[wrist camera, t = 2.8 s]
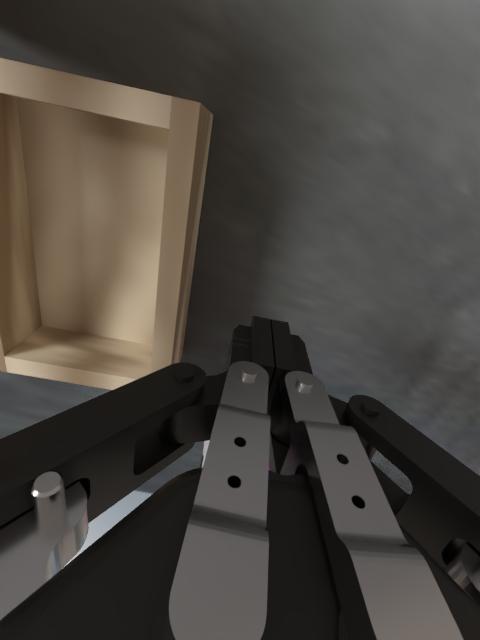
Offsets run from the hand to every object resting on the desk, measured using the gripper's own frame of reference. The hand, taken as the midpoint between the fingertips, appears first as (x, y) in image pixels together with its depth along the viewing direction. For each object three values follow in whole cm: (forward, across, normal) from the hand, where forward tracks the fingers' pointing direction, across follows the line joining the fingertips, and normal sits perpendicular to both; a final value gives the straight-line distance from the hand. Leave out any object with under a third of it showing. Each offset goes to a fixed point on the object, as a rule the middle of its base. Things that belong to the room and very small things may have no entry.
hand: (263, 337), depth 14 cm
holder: (+9, +10, 0) cm, 14 cm away
